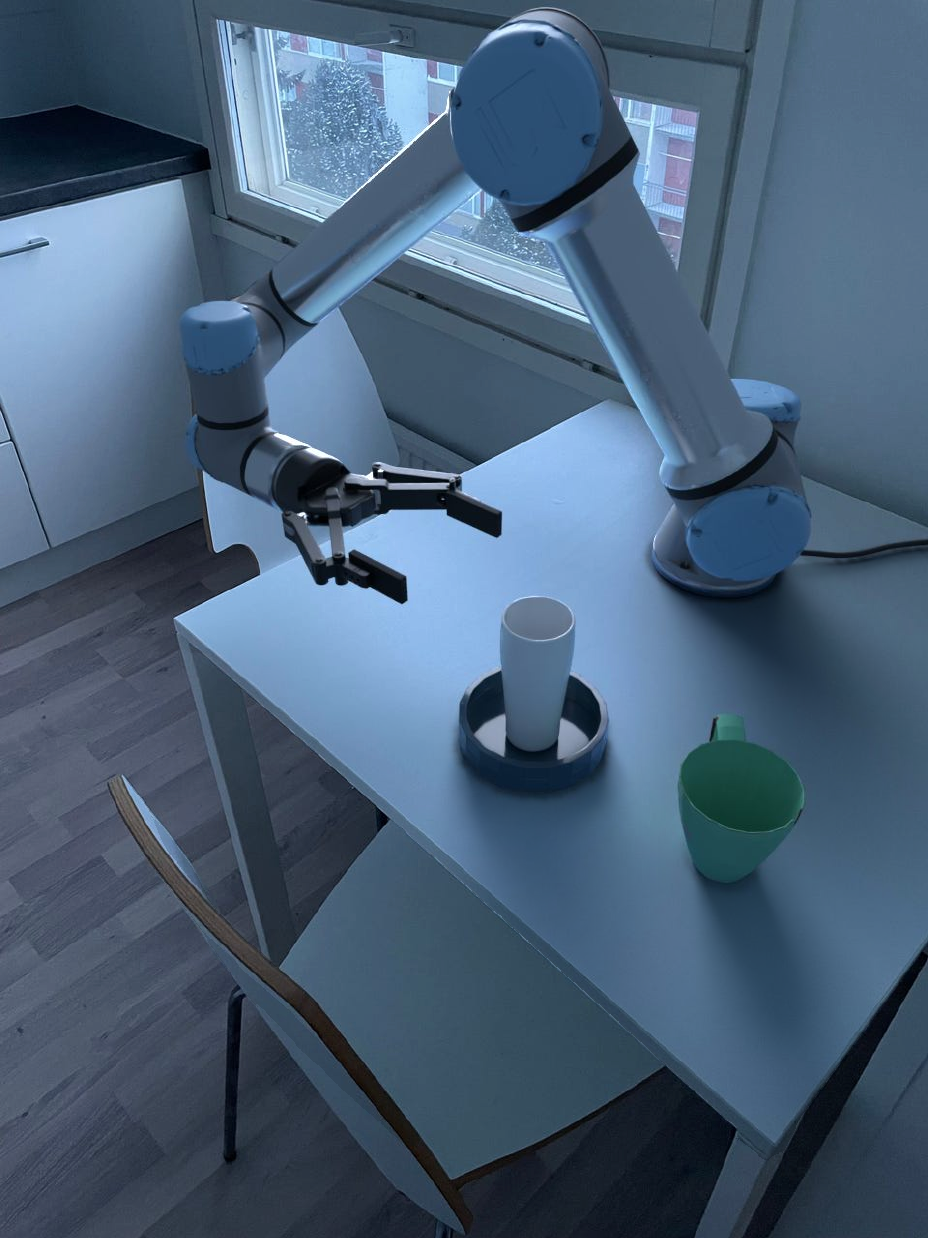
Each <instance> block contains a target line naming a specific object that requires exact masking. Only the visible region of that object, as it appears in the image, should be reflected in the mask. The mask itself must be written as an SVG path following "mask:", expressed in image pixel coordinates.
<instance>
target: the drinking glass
mask: <svg viewBox="0 0 928 1238" xmlns="http://www.w3.org/2000/svg"><path fill="white" fill-rule="evenodd" d="M501 613H502V614H501V619H500V629H499V659H500V666H501V672H502V682H503V693H504V705H505V718H506V721H505V731H506V735H507V738H508V739H509V741H510V742H511V743H512V744H513V745H514V746H516V747H517V748H519V749H522V750H525V751H530V752H537V751H542V750H545V749H547V748H549V747H551V746H552V745H553V744H554V743H555V742H556V740H557V738H558V736H559V731H560V720H561V715H562V710H563V705H564V700H565V695H566V690H567V685H568V680H569V676H570V671H572V665H573V660H574V655H575V645H576V615H575V613H574V611H573V610H572V608H570V607H569V606H568V605H567V604H566V603H564V602H562V601H561V600H559V599H556V598H553V597H549V596H543V595H532V596H524V597H520V598H517V599H516V600H514V601H511V602H510V603H508V605H507V606H506V607H505V608H504V609H503V611H502V612H501Z"/></svg>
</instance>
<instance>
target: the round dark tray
mask: <svg viewBox="0 0 928 1238" xmlns="http://www.w3.org/2000/svg"><path fill="white" fill-rule="evenodd" d="M458 707H459V709H458V731H459V732H458V733H459V736H458V737H459V739H458V740H459V745H460V748H461V751H462V754H463V756H464V758H465V760H466V761H467V763H468V764H469V765H470V767H471V768H472V769H473V770H474V771H475V772H476V773H477V774H478V775H480V776H481V777H482V778H483V779H485V780H486V781H488V782H490V783H492V784H494V785H496V786H498V787H501V788H503V789H507V790H510V791H513V792H519V793H525V794H528V793H529V794H546V793H553V792H557V791H561V790H565V789H567V788H570V787H572V786H573V787H574V786H575V785H576V784H578V783H580V782H582V781H583V780H585V779H586V778H587V777H589V776H590V775H591V774H592V773H593V772H594V770H595V769H596V768H597V767H598V766H599V764H600V762H601V760H602V758H603V755H604V751H605V747H606V745H607V737H608V729H609V721H610V719H609V712H608V707H607V702H606V701H605V699H604V697H603V696H602V694H601V693H600V691H599V689H598V688H597V687H596V686H595V685H594V684H592V683H591V682H590V681H589V680H587V679H586V678H585V677H584V676H583V675H581V674H579V673H577V672H575V671H572V670H571V671H570V676H569V680H568V685H567V690H566V695H565V700H564V705H563V710H562V715H561V720H560V731H559V736H558V738H557V740H556V742H555V743H554V744H553V745H552V746H551V747H549V748H547V749H545V750H542V751H537V752H530V751H525V750H522V749H519V748H517V747H516V746H514V745H513V744H512V743H511V742H510V741H509V739H508V738H507V735H506V731H505V721H506V718H505V705H504V693H503V682H502V672H501V665H498V666H497V667H494V668H492V669H490V670H488V671H486V672H484V673H482V674H480V675H479V676H478V677H477V678H476V679H475V680H473V682H471V684H469V685H468V686H467V687H466V689H465V691H464V693H463V695H462V698H461V699H460V701H459V706H458Z"/></svg>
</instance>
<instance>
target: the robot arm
mask: <svg viewBox="0 0 928 1238" xmlns="http://www.w3.org/2000/svg"><path fill="white" fill-rule="evenodd" d="M608 63H609V62H608V58H607V54H606V52H605V49H604V47H603V45H602V43H601V41H600V39H599V37H598V35H597V34H596V33H595V32H594V30H593V29H592V28H591V27H590V25H589V24H588V23H586V22H585V20H583V19H581V18H580V17H579V16H577V14H574V13H571V12H570V11H568V10H565V9H561V8H558V7H546V6H542V7H536V8H531V9H528V10H525V11H523V12H521V13H518V14H516V15H514V16H513V17H511V18H510V19H509V20H507V21H506V22H504V23H503V24H502V25H501V26H499V27H498V28H496V29H495V30H493V31H491V32H489V33H487V35H486V36H485V37H484V38H483V39H482V41H480V43H478V45H476V46H475V47H473V49H472V50H471V52H470V53H469V55H468V57H467V58H466V59H465V61H464V64H463V65H462V67H461V69H460V72H459V74H458V77H457V80H456V84H455V86H454V87H452V88H451V89H450V91H449V92H448V95H447V104H446V110H444V112H443V113H442V114H440V116H438V117H437V118H436V119H435V120H434V121H433V122H432V123H431V124H430V125H428V126H427V127H426V128H425V129H424V130H423V131H421V132H420V133H419V134H418V135H417V136H416V137H415V138H414V139H413V140H411V142H409V144H407V145H406V146H405V147H403V149H402V150H401V151H399V152H398V153H397V155H395V156H394V157H393V158H392V159H390V161H388V162H387V163H386V164H385V165H383V167H382V168H381V169H380V170H378V172H376V173H375V174H374V175H373V176H372V177H370V179H368V180H367V181H366V182H365V183H364V184H363V185H362V186H361V187H360V188H358V189H357V190H356V191H355V192H354V193H353V194H352V195H351V196H350V197H349V198H348V199H346V200H345V201H344V202H343V203H342V204H341V205H340V206H339V207H338V208H337V209H335V210H334V211H333V212H332V213H330V215H329V216H327V218H325V219H324V220H323V221H322V222H321V223H320V224H319V225H318V226H317V227H316V228H314V229H313V230H312V231H311V232H310V233H309V234H308V235H307V236H306V237H304V238H303V239H302V240H301V241H300V242H299V243H298V244H297V245H296V246H295V247H293V248H292V249H291V250H290V251H289V252H288V253H286V255H284V256H283V257H282V258H281V259H280V260H279V261H277V263H276V264H275V265H274V266H273V268H271V269H270V270H269V271H267V272H266V273H265V274H263V275H262V277H260V278H258V279H256V280H255V281H254V282H253V283H252V284H251V285H250V286H249V287H248V288H247V289H246V290H245V291H244V292H243V293H242V295H240V296H239V297H238V299H236V300H235V301H231V300H230V301H228V300H212V301H207V302H202V303H200V304H199V305H196V306H191V307H189V308H188V309H186V310H185V311H184V312H183V313H182V315H181V316H180V318H179V333H180V340H181V355H182V359H183V360H184V364H185V368H186V373H187V377H188V382H189V386H190V391H191V395H192V400H193V404H194V408H195V413H196V414H194V415H193V416H192V417H191V419H190V421H189V422H188V425H187V426H186V434H185V438H184V449H185V453H186V455H187V457H188V459H189V460H190V462H191V463H192V465H194V466H195V467H196V468H198V469H199V470H201V471H203V472H204V473H206V474H207V475H208V476H209V477H210V478H212V479H213V480H215V481H216V482H220V483H224V484H226V485H228V486H230V487H232V488H234V489H235V490H238V491H240V492H241V493H244V494H246V495H248V496H250V497H251V498H253V499H256V500H258V501H260V502H261V503H264V504H266V505H267V506H269V507H271V508H273V509H275V510H277V511H279V512H281V521H282V528H283V533H284V537H285V538H286V539H287V540H289V541H290V542H291V543H293V544H295V546H296V548H297V550H298V552H299V553H300V555H301V558H302V559H303V561H304V563H305V565H306V567H307V569H308V571H309V573H310V575H311V577H312V579H313V581H314V583H315V584H316V585H317V586H326V585H327V584H328V583H329V582H330V581H329V580H330V579H333V578H334V583H335V585H336V586H339V587H343V586H346V585H348V583H349V582H350V583H352V584H354V585H355V586H357V587H358V588H361V589H365V590H368V589H369V588H370V589H372V590H375V591H376V592H378V593H380V594H382V596H383V595H384V596H385V597H387V598H389V599H390V600H393V601H394V602H397V603H398V604H400V605H403V604H405V603H407V602H408V601H409V598H408V596H409V595H408V579H407V575H404V573H401V572H399V571H397V570H395V569H393V568H392V567H390V566H387V565H386V564H384V563H381V562H380V561H378V560H376V559H374V558H372V557H370V556H368V555H367V554H365V553H362V552H361V551H359V550H357V549H352V550H350V551H349V552H348V553H347V555H348V556H347V555H346V547H345V541H344V532H343V531H344V530H343V528H347V527H352V528H353V527H355V526H357V525H358V524H360V522H361V521H362V520H365V519H367V518H370V517H372V516H373V515H387V514H388V513H389V512H390V511H437V510H438V511H442V510H443V511H444V510H445V511H446V516H447V517H449V518H452V519H453V520H456V521H458V522H460V523H462V524H465V525H467V526H468V527H472V528H474V529H476V530H478V531H480V532H482V533H484V534H487V535H489V536H491V537H493V538H496V539H498V538H500V537H501V536H502V535H503V534H502V531H503V511H501V510H500V509H498V508H495V507H493V506H490V505H488V504H487V503H483V502H482V501H481V500H480V499H479V498H477V497H475V496H472V495H470V494H468V493H465V492H464V491H463V476H462V475H461V474H458V473H449V472H448V473H447V472H440V471H432V470H423V469H416V468H408V467H407V468H406V467H399V466H398V467H397V466H392V465H389V464H387V463H383V462H380V461H377V462H373V463H372V464H371V472H370V473H369V474H367V475H363V474H355V473H352V472H351V470H349V469H348V468H347V466H346V465H345V464H344V463H343V462H342V461H341V460H340V459H338V458H336V457H334V456H332V455H330V454H328V453H325V452H323V451H321V450H319V449H316V448H313V447H312V446H310V445H309V444H307V443H304V442H302V441H300V440H297V439H295V438H292V437H290V436H288V435H285V434H283V433H281V432H280V431H277V430H275V429H273V428H272V424H271V420H270V419H271V418H270V408H269V403H268V394H267V389H266V388H267V387H266V382H265V379H266V377H267V376H268V375H269V374H270V373H271V371H272V370H273V369H274V368H275V366H276V365H277V364H278V363H279V362H280V361H281V359H282V358H283V357H284V356H285V354H286V353H287V352H288V351H289V350H290V349H291V348H292V347H293V346H294V345H295V344H296V343H297V342H298V341H300V340H301V339H303V337H304V336H306V335H307V334H309V333H310V332H311V331H312V330H313V329H315V328H316V326H318V324H319V323H321V322H322V321H323V320H324V319H325V318H327V317H328V316H329V315H330V314H332V313H333V312H334V311H336V309H338V308H339V307H340V306H341V305H343V304H344V303H346V302H347V301H348V300H349V299H350V298H352V297H353V296H354V295H355V294H356V293H358V292H359V291H360V290H361V289H362V288H364V287H365V286H366V285H367V284H368V283H370V282H371V281H372V280H374V279H375V278H376V277H377V276H379V275H380V274H381V273H382V272H383V271H385V270H386V269H387V268H388V267H390V265H392V264H393V263H394V262H396V261H397V260H398V259H400V257H402V256H403V255H404V254H405V253H407V252H408V251H409V250H410V249H412V248H413V247H414V246H415V245H416V244H418V243H420V241H421V240H423V239H424V238H425V237H426V236H427V235H429V234H430V233H432V232H433V231H434V230H435V229H437V228H438V226H440V225H441V224H442V223H443V222H445V221H446V220H447V219H449V218H450V217H451V216H452V215H453V214H454V213H456V212H457V211H458V210H459V209H461V208H462V207H463V206H464V205H466V204H467V203H468V202H469V201H471V200H472V199H473V198H474V197H476V196H477V195H478V194H479V193H480V192H484V193H485V194H487V195H488V196H490V197H492V198H494V199H496V200H498V201H499V202H500V205H501V206H502V208H503V209H504V211H505V213H506V215H507V216H508V218H509V220H510V221H511V223H512V225H513V227H514V228H515V230H516V232H517V233H518V235H519V236H522V237H526V238H529V239H532V240H533V239H534V240H537V241H541V242H542V243H544V244H545V246H546V248H547V249H548V251H549V253H550V254H551V257H552V258H553V260H554V262H555V264H556V265H557V268H559V271H560V272H561V274H562V276H563V277H564V279H565V281H566V284H567V285H568V286H569V289H571V293H572V294H573V296H574V297H575V299H576V301H577V302H578V304H579V306H580V308H581V310H582V311H583V313H584V314H585V316H586V318H587V320H588V322H589V323H590V326H591V327H592V329H593V331H594V332H595V335H596V336H597V338H598V339H599V341H600V343H601V345H602V347H603V348H604V350H605V352H606V353H607V355H608V357H609V360H611V363H612V364H613V366H614V368H615V369H616V371H617V373H618V375H619V376H620V378H621V380H622V382H623V384H624V386H625V387H626V389H627V390H628V393H629V394H630V396H631V399H632V400H633V401H634V403H635V405H636V407H637V409H638V411H639V412H640V414H641V416H642V417H643V419H644V421H645V422H646V424H647V426H648V429H650V432H651V433H652V435H653V437H654V439H655V440H656V442H657V444H658V446H659V447H660V449H661V451H662V453H663V454H664V457H663V460H662V462H661V465H660V467H659V473H658V474H659V478H660V480H661V482H662V484H663V487H664V488H665V489H666V491H667V493H668V495H669V497H670V498H671V500H672V504H671V506H670V507H669V511H668V512H667V514H666V517H664V520H663V521H662V524H661V525H660V526H659V529H658V530H657V532H656V534H655V537H654V539H653V542H652V543H653V544H652V548H651V549H652V550H651V559H652V563H653V565H654V567H655V569H656V570H657V572H658V573H659V574H660V575H661V576H662V577H663V578H664V579H666V580H667V581H668V582H670V583H672V584H673V585H675V586H677V587H678V588H681V589H683V590H685V591H688V592H690V593H693V594H698V595H701V596H706V597H714V598H739V597H745V596H750V595H753V594H756V593H759V592H761V591H763V590H764V589H766V588H767V587H768V586H769V585H771V584H772V583H773V581H774V579H775V578H776V576H777V574H778V573H780V572H782V571H784V570H785V569H786V568H788V567H789V566H791V565H792V564H793V563H794V562H795V561H796V560H797V559H798V558H799V557H800V556H801V557H817V558H825V559H854V558H860V557H865V556H869V555H874V554H877V553H881V552H887V551H890V550H896V549H903V548H911V547H920V546H928V538H922V539H921V538H919V539H911V540H903V541H896V542H891V543H890V542H889V543H884V544H880V545H877V546H873V547H869V548H864V549H859V550H853V551H826V550H816V549H815V550H814V549H805V548H806V546H807V545H808V543H809V539H810V537H811V528H812V527H811V518H812V511H811V507H810V506H809V503H808V500H807V496H806V491H805V487H804V484H803V479H802V475H801V470H800V466H799V461H798V459H797V454H796V450H795V435H796V431H797V428H798V425H799V422H801V418H802V417H801V409H802V403H801V399H800V397H799V396H798V395H797V394H796V393H795V392H794V391H792V390H791V389H789V388H786V387H784V386H782V385H778V384H776V383H772V382H769V381H762V380H755V379H747V378H745V379H744V378H731V376H730V374H729V373H728V370H727V368H726V366H725V364H724V362H723V361H722V358H721V356H720V355H719V352H718V350H717V348H716V346H715V344H714V343H713V340H712V338H711V337H710V334H709V332H708V331H707V327H705V324H704V322H703V320H702V318H701V317H700V316H701V315H699V312H698V310H697V308H696V307H695V305H694V302H693V300H692V298H691V296H690V295H689V292H688V290H687V288H686V286H685V284H684V282H683V280H682V278H681V276H680V274H679V272H678V270H677V268H676V266H675V264H674V263H673V260H672V258H671V255H670V254H669V251H668V250H667V248H666V246H665V244H664V242H663V240H662V238H661V236H660V234H659V232H658V231H657V228H656V226H655V224H654V222H653V220H652V218H651V216H650V214H649V211H648V210H647V209H646V206H645V204H644V202H643V200H642V198H641V196H640V194H639V192H638V190H637V188H636V186H635V184H634V177H635V172H636V169H637V165H638V162H639V159H640V156H641V152H640V149H639V148H638V146H637V144H636V142H635V139H634V137H633V136H632V133H631V131H630V129H629V127H628V125H627V123H626V120H625V119H624V117H623V114H622V112H621V110H620V108H619V106H618V104H617V103H616V100H615V98H614V97H613V94H612V92H611V90H610V86H611V85H610V83H611V82H610V81H611V80H610V68H609V64H608ZM375 491H379V496H380V497H379V498H380V503H377V501H376V499H377V498H376V494H375ZM310 527H328V529H329V539H330V550H331V556H329V557H325V555H324V553H323V551H322V549H321V548H320V545H319V544H318V542H317V540H316V539H315V536H314V535H313V533H312V530H311V529H310Z"/></svg>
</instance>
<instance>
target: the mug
mask: <svg viewBox="0 0 928 1238" xmlns="http://www.w3.org/2000/svg"><path fill="white" fill-rule="evenodd" d="M744 719H745V718H744V717H743V716H742V715H740V714H737V713H732V712H731V713H730V712H729V713H728V712H727V713H719V714H718V715H716V716H715V717H714V718H713V719H712V724H711V730H710V734H709V740H708V741H707V742H703V743H701V744H699V745H697V746H696V747H695V748H693V749H692V750H690V751H689V752H687V754H686V755H685V757H684V759H683V760H682V762H681V763H680V767H679V771H678V772H679V773H678V780H677V798H678V810H679V816H680V823H681V827H682V830H683V831H682V832H683V834H684V838H685V842H686V846H687V850H688V852H689V855H690V857H691V860H692V863H693V865H694V866H695V868H696V869H697V871H698V872H699V873H701V874H702V876H704V877H705V878H707V879H709V880H711V881H713V882H716V883H720V884H721V883H722V884H732V883H735V882H738V881H741V880H742V879H744V878H745V877H746V876H748V875H749V874H750V873H752V872H754V871H755V869H757V868H758V867H759V866H760V865H761V864H762V863H763V862H765V860H767V858H769V857H770V856H771V855H772V854H773V853H774V852H775V851H776V850H777V849H778V847H780V845H781V844H782V843H783V841H784V840H785V839H786V838H787V837H788V835H789V834H790V832H791V831H792V830H793V829H794V828H795V825H796V824H797V823H798V821H799V820H800V816H801V815H802V814H803V811H804V808H805V805H806V789H805V786H804V784H803V782H802V780H801V777H800V775H799V773H798V771H796V770H795V768H794V767H793V766H792V765H791V763H789V761H788V760H786V759H785V758H783V757H782V756H780V755H779V754H778V753H777V752H775V751H773V750H772V749H770V748H767V747H765V746H763V745H761V744H758V743H755V742H751V741H747V733H746V725H745V720H744Z"/></svg>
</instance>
